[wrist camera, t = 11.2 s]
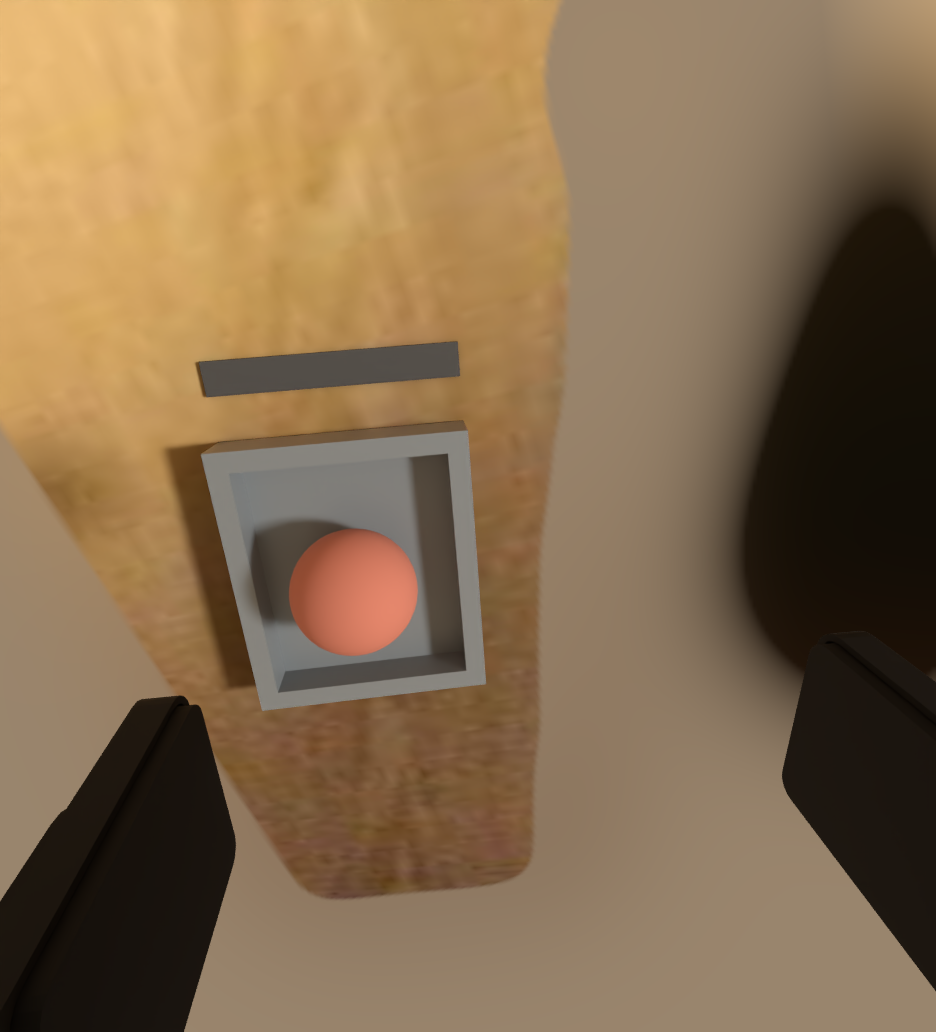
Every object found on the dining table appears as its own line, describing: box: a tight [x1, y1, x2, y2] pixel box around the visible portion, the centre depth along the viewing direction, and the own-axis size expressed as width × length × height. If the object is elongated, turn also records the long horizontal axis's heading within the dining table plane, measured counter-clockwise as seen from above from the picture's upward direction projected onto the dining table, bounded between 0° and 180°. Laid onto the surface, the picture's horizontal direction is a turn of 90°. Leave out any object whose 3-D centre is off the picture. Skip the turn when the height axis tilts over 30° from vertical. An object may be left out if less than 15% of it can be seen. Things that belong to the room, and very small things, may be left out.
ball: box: [289, 529, 418, 656], centre depth 27 cm, size 6×6×6 cm
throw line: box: [199, 342, 460, 397], centre depth 27 cm, size 2×12×1 cm, turn 94°
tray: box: [201, 421, 486, 711], centre depth 29 cm, size 14×12×2 cm
